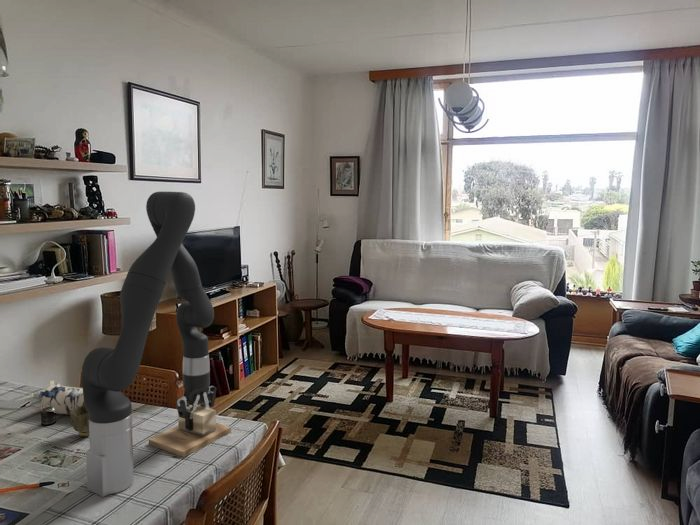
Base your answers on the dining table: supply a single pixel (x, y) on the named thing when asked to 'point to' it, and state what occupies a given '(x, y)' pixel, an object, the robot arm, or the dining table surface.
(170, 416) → the dining table surface
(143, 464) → the dining table surface
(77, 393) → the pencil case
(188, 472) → the dining table surface
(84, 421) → the cup
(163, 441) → the oak board
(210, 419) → the block
